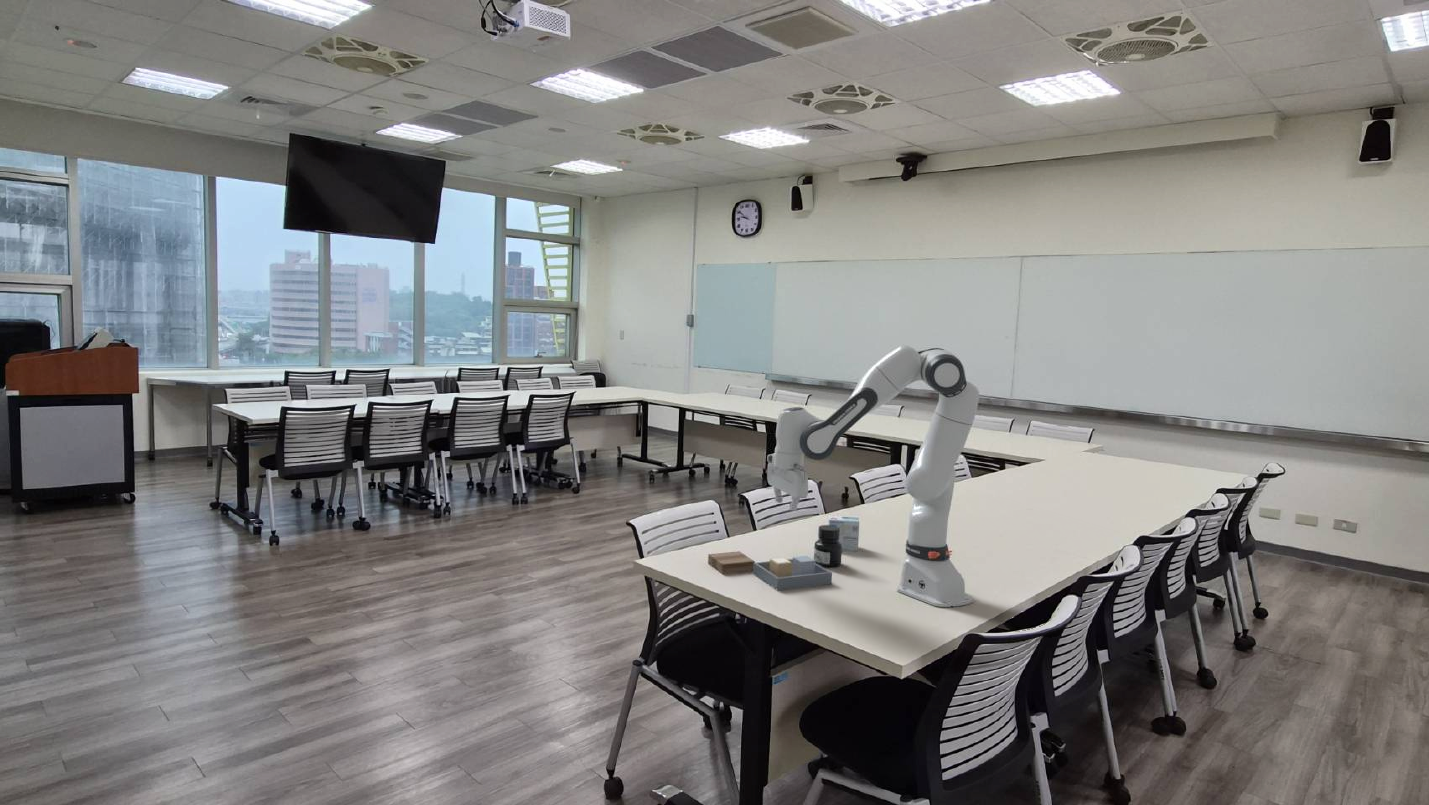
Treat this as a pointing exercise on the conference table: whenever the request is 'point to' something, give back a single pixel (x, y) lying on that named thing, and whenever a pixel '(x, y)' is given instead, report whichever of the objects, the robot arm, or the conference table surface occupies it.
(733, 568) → the walnut stand
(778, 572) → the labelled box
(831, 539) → the ink bottle
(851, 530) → the light bulb box
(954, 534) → the conference table surface
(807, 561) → the plain box
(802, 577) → the parts tray
